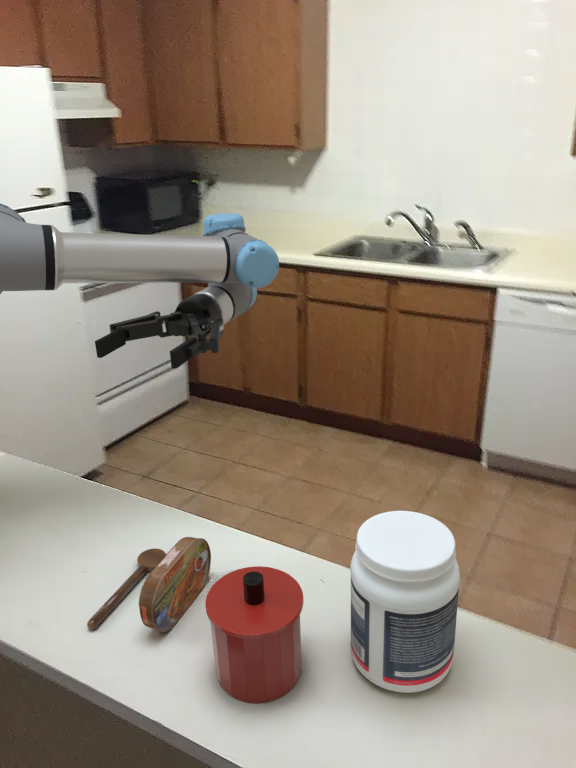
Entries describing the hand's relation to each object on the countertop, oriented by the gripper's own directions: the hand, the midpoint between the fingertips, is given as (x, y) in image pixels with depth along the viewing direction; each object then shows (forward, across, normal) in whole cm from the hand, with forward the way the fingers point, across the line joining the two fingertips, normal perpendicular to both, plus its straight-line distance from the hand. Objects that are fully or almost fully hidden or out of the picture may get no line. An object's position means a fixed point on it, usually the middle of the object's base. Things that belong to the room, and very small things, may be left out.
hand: (134, 354), depth 101 cm
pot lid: (+23, -30, -19) cm, 42 cm away
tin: (+16, -15, -30) cm, 37 cm away
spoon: (+16, -6, -30) cm, 34 cm away
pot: (+23, -30, -30) cm, 48 cm away
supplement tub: (+14, -46, -30) cm, 57 cm away
